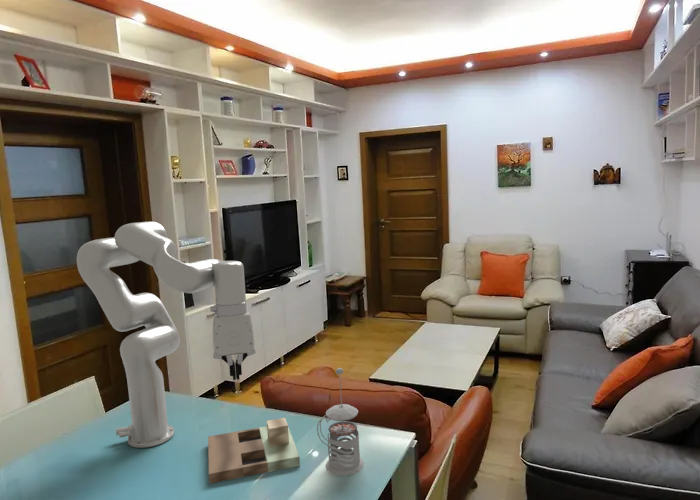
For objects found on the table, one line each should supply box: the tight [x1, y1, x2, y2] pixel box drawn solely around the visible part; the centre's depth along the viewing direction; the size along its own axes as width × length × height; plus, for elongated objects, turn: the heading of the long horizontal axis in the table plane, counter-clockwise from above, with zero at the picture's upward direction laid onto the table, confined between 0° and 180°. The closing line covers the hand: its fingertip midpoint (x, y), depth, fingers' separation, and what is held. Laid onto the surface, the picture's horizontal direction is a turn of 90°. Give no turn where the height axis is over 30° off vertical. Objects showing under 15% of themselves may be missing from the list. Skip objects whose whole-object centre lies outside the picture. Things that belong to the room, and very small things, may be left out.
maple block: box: [266, 417, 289, 447], centre depth 135 cm, size 5×5×5 cm
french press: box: [316, 367, 365, 477], centre depth 125 cm, size 10×12×25 cm
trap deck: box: [207, 425, 301, 485], centre depth 133 cm, size 22×20×2 cm
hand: (236, 377), depth 131 cm, fingers closed
